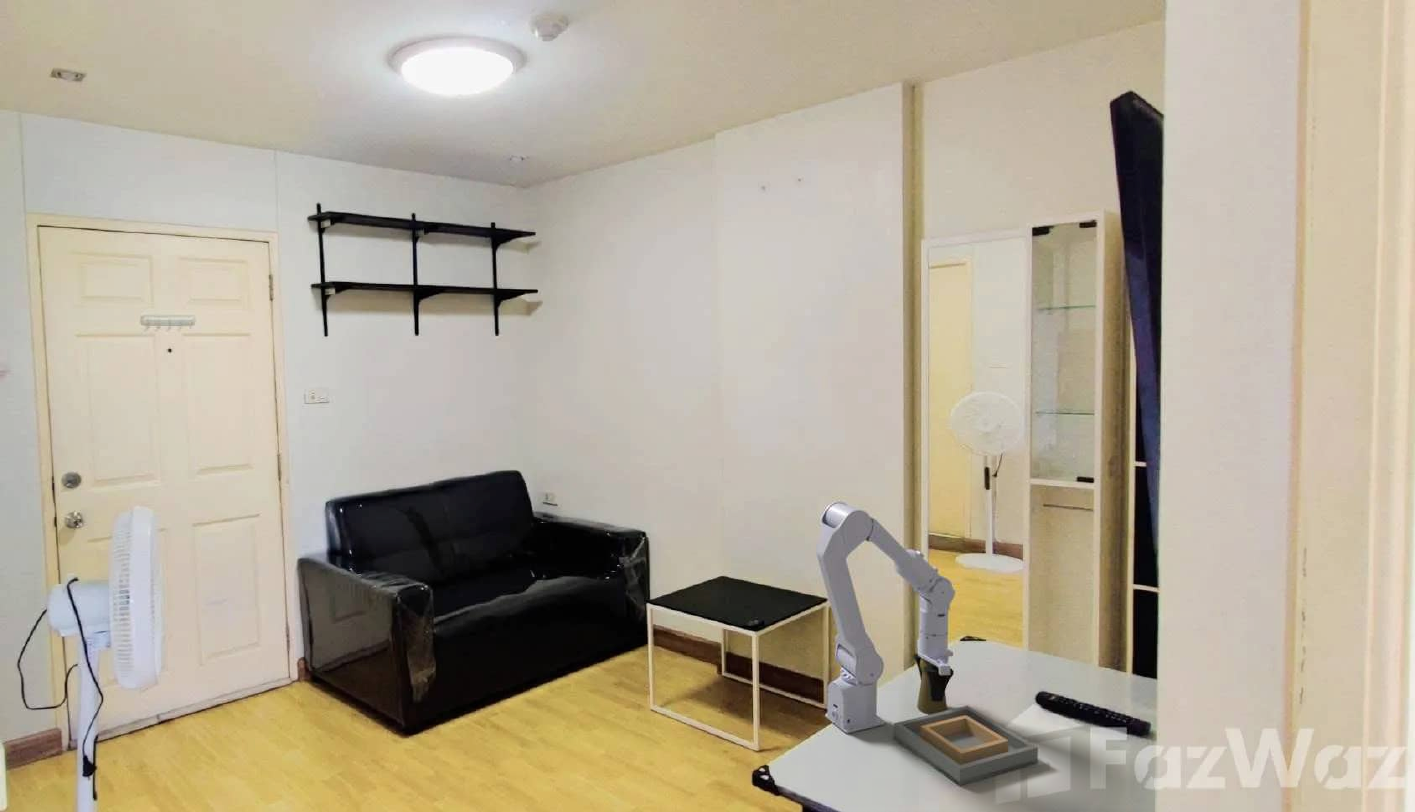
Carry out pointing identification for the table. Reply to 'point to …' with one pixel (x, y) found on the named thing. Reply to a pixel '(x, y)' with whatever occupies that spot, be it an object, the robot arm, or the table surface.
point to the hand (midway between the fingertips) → (932, 694)
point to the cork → (928, 694)
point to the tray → (965, 744)
